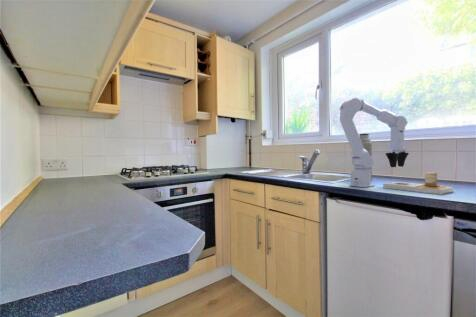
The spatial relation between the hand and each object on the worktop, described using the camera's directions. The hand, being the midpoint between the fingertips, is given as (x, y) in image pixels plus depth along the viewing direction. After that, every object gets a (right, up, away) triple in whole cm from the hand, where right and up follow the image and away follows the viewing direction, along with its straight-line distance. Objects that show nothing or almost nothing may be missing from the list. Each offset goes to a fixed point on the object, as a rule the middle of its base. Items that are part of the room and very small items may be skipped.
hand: (397, 166), depth 118 cm
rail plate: (-1, -10, -13) cm, 17 cm away
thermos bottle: (-5, -9, +21) cm, 24 cm away
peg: (+2, -10, -18) cm, 21 cm away
